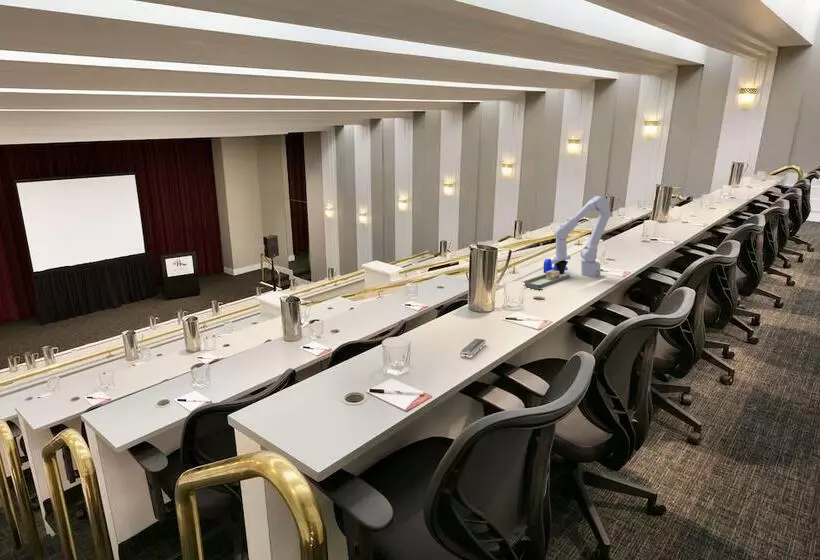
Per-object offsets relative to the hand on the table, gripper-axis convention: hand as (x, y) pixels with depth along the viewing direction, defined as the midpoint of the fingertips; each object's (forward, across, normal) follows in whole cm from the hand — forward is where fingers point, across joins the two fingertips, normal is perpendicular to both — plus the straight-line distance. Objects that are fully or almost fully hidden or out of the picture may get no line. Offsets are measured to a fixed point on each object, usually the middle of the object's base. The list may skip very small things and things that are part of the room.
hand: (561, 274), depth 288 cm
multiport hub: (+3, +107, +35) cm, 113 cm away
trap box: (+2, +14, 0) cm, 14 cm away
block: (+1, +8, 0) cm, 8 cm away
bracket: (+3, -10, -10) cm, 15 cm away
